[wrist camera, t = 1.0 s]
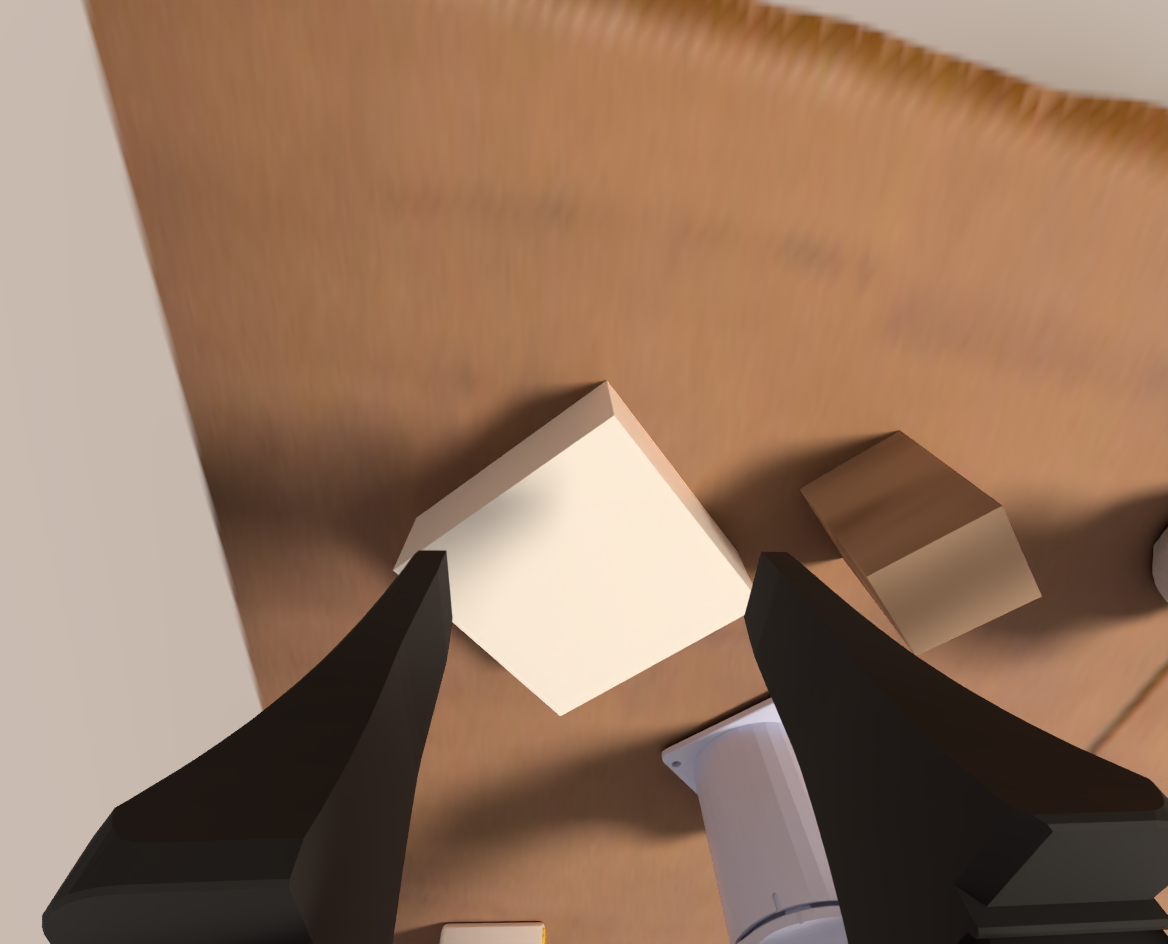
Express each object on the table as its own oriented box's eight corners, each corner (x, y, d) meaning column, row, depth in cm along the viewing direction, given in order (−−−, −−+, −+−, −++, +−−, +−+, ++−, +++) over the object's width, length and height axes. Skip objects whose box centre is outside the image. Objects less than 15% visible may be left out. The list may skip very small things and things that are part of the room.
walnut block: (937, 506, 24) (1042, 596, 19) (842, 557, 25) (915, 656, 20) (899, 430, 23) (1002, 505, 17) (799, 488, 24) (866, 576, 18)
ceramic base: (734, 546, 25) (762, 605, 22) (560, 648, 28) (560, 716, 24) (605, 377, 22) (614, 415, 18) (418, 513, 24) (393, 570, 21)
